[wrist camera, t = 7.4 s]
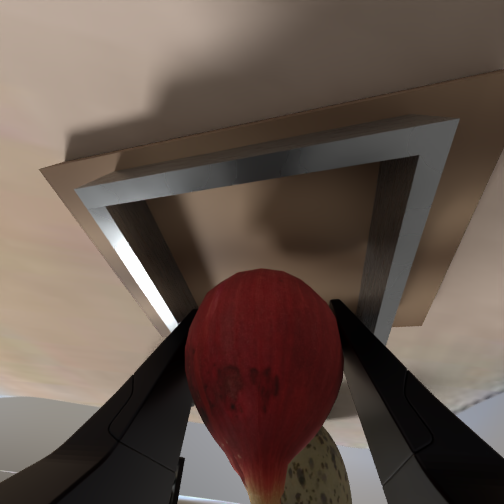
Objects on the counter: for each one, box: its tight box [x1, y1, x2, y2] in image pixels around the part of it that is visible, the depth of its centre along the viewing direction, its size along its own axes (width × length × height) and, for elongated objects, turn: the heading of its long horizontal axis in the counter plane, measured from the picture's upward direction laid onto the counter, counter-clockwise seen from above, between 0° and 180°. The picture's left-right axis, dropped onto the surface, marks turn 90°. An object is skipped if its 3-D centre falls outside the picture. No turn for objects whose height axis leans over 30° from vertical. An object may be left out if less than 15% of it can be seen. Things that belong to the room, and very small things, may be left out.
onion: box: [185, 268, 344, 504], centre depth 8 cm, size 6×6×8 cm
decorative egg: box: [281, 426, 352, 504], centre depth 24 cm, size 11×11×15 cm
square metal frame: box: [74, 114, 460, 346], centre depth 11 cm, size 13×13×2 cm
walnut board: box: [39, 69, 504, 337], centre depth 13 cm, size 14×20×2 cm
